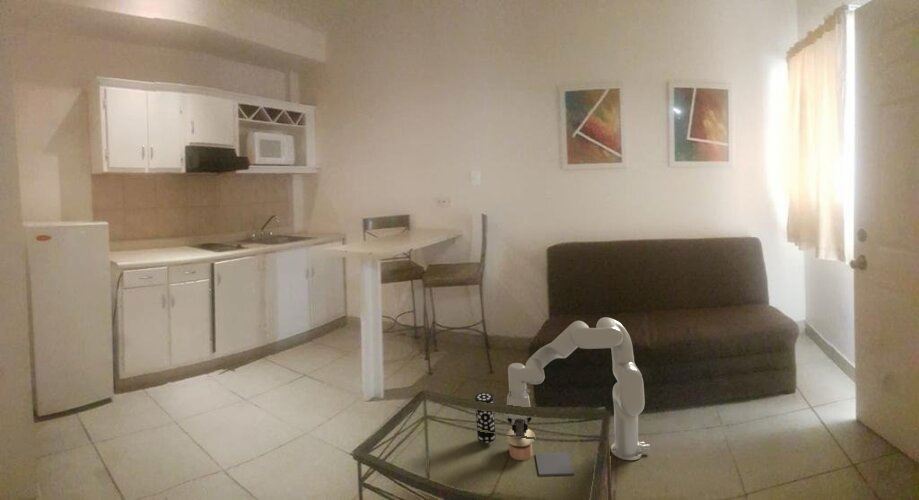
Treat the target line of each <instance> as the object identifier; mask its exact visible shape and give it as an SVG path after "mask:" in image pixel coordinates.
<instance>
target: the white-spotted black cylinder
mask: <svg viewBox="0 0 919 500" xmlns="http://www.w3.org/2000/svg"><path fill="white" fill-rule="evenodd" d="M475 400H476V401H482V402H487V403H494V395H493V394H492V393H490V392H480V393H477V394H476V395H474V401H475ZM475 419H476V421H475V422H476V432H477V433H476V435H477V440H478V441H479V442H481V443H485V444H487V443H492V442H494V441H496V438H497V437H496V436H497V435H496V434H497V433H496V421H495V420H496V419H495V411H494V412H491V411H481V410H476V409H475ZM477 429H481V430H486V431H490V432H495V433H496V434H494V433H488V432H480V431H477Z"/></svg>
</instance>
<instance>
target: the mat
mask: <svg viewBox="0 0 919 500" xmlns="http://www.w3.org/2000/svg"><path fill="white" fill-rule="evenodd" d="M534 454H535V460H536V465H537V471H538V476H539V477H545V476H547V477H549V476H573V475H574V476H575V470H574V468H573V465H572V462H571V458H570V455H569V452H568V451H563V452H562V451H560V452H557V451H556V452H535V453H534Z"/></svg>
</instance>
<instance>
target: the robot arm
mask: <svg viewBox="0 0 919 500" xmlns="http://www.w3.org/2000/svg"><path fill="white" fill-rule="evenodd" d="M595 325H596V327H589V325H588V324H587V323H586V322H584V321H582V320H575V321H573V322H572V323H571V324H570V325H568V326H567V327H566V328H565V329H564V330H563V331H562V332H561V333H560V334H559V335H558V336H557V337H556V338H555V339H553V340H552V341H551V342H550V343H547V344H546V345H544V346H541V347H540V348H539V349H538V350H537V351H535V352H534V353H532V355H531V356H530V357H529V358H528V359H527V361H526V362H525V365H524V364H523V363H520V362H513V363H511V364H509V365H508V367H507V373H508V375H507V376H508V393H507V397H506V406H507V405H513V406H521V407H531V400H530V396H529V395H530V394H529V393H531V389H530V388H528V386H527V384H530V385H540V384H542V383H543V382H544V380H545V378H546V376H545V370H544V368H545V367H546V366H547V365H548V364H549V363H550V362H552V361H553V360H556V359H566V358H567V357H569V356H570V355H571V354H572V353H573V352H574V351H575V350H576V349H578V348H580V349H587V350H592V349H595V350H596V349H611V358H612V359H611V360H612V373H613V376H614V377H615V379H616V381H617V382H615V384H614V385H613V388H612V401H613V413H614V414H613V415H614V417H613V419H614V421H613V424H614V425H613V426H614V431H613V432H614V443H612V444H611V446H610V451H611V453H612V454H613V455H614V456H615V457H616V458H618V459H621V460H624V461H635V460H636V461H637V460H639V459H641V458H642V457H643V450H651V446H650V443H649V444H648V443H647V444H646V443H645V441H639V415H640V414H641V413H642V412H643V410H644V408H645V403H646V402H645V400H646V399H645V386H644V385H645V384H644V379H643V375H642V373H641V371H640V369H639V368H638V367H637V365H636V363H635V355H634V348H633V347H634V346H633V343H632V339H631V336H630V334H629V332H628V331H627V329H626V327H624V326H623V324H622V323H621V322H620V321H618V320H616V319H614V318H611V317H605V316H604V317H601V318H600V319H599V320H598V321H597V323H596V324H595ZM502 418H503V420H506V421H507V422H509V423H510V424H511V429H512V431H514V434H515V433H516V428H515V425H514V424H515V420H516V419H518V418H521V419H523V420H524V431H525V433H526V430H528V429H529V428H528V424H529V423H530V422H531V421H532V420H534V419H535V418H536V416H535V417H527V416H520V415H513V414H505V413H504V414H503V416H502Z"/></svg>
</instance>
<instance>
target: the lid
mask: <svg viewBox="0 0 919 500" xmlns="http://www.w3.org/2000/svg"><path fill="white" fill-rule="evenodd" d="M524 421H525V420H524V418H516V419H515V424H516V425H515V428H516V433H515V434H514V431H512V428H510V429H509V430H508V431H506V432H505V435H516V436H527V437H535V438H536V434H535V432H534V431H533V430H531V429H529V428H528V430H526V433H525V431H524ZM505 441H506V443H508V445H509V444H511V445H513V446H519V447H523V446H528V445H530V444H532V445H533V443H534V442H535V441H536V439H535V440H534V439H526V438H516V437H510V436H505Z"/></svg>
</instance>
